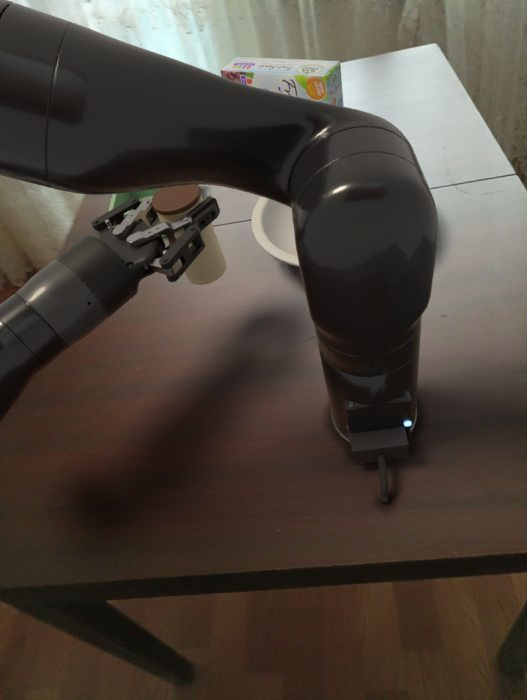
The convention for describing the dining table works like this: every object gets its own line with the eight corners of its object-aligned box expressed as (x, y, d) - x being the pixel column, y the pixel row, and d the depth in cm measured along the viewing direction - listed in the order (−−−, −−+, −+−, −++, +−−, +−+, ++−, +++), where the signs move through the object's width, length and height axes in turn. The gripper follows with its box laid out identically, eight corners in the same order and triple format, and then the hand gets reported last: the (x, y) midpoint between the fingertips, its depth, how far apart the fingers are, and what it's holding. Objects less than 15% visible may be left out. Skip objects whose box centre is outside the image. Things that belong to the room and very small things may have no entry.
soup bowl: (420, 302, 65) (422, 265, 60) (245, 301, 72) (234, 267, 67) (422, 189, 79) (424, 151, 73) (276, 197, 85) (268, 163, 80)
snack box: (349, 146, 90) (342, 59, 78) (334, 164, 88) (325, 76, 76) (253, 133, 100) (234, 54, 88) (238, 149, 98) (216, 69, 86)
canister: (227, 281, 59) (198, 204, 51) (184, 289, 60) (148, 215, 52) (227, 251, 63) (200, 175, 54) (186, 259, 63) (153, 185, 55)
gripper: (100, 293, 43) (234, 183, 49) (23, 240, 51) (147, 151, 56) (135, 346, 49) (251, 242, 54) (62, 291, 56) (170, 206, 62)
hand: (197, 196), depth 55 cm, fingers closed on canister, 5 cm apart
